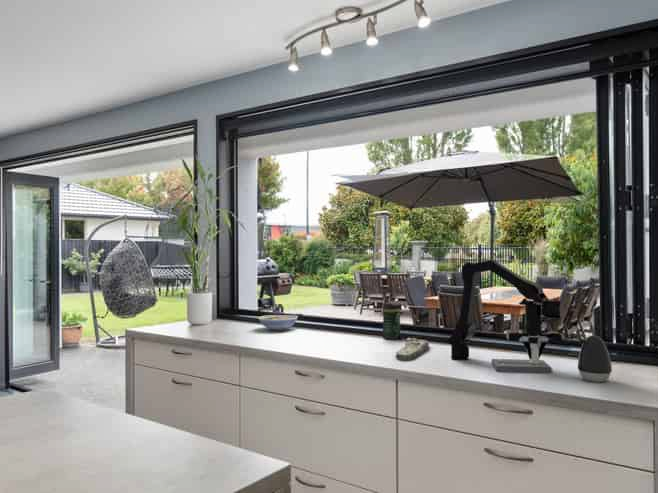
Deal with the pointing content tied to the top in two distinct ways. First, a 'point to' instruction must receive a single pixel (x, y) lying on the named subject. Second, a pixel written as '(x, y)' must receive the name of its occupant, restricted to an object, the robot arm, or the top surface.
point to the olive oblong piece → (412, 349)
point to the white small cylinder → (534, 355)
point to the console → (520, 366)
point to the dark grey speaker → (594, 360)
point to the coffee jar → (391, 320)
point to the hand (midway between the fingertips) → (534, 359)
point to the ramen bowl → (278, 321)
